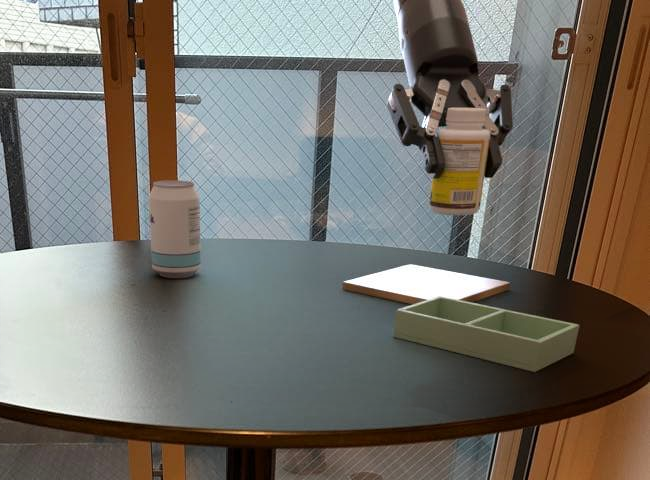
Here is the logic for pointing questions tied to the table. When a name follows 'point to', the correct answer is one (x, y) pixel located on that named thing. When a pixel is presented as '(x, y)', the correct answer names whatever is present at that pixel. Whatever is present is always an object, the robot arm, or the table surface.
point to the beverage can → (175, 228)
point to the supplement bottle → (461, 163)
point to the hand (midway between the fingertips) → (465, 172)
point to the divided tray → (487, 332)
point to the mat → (425, 285)
